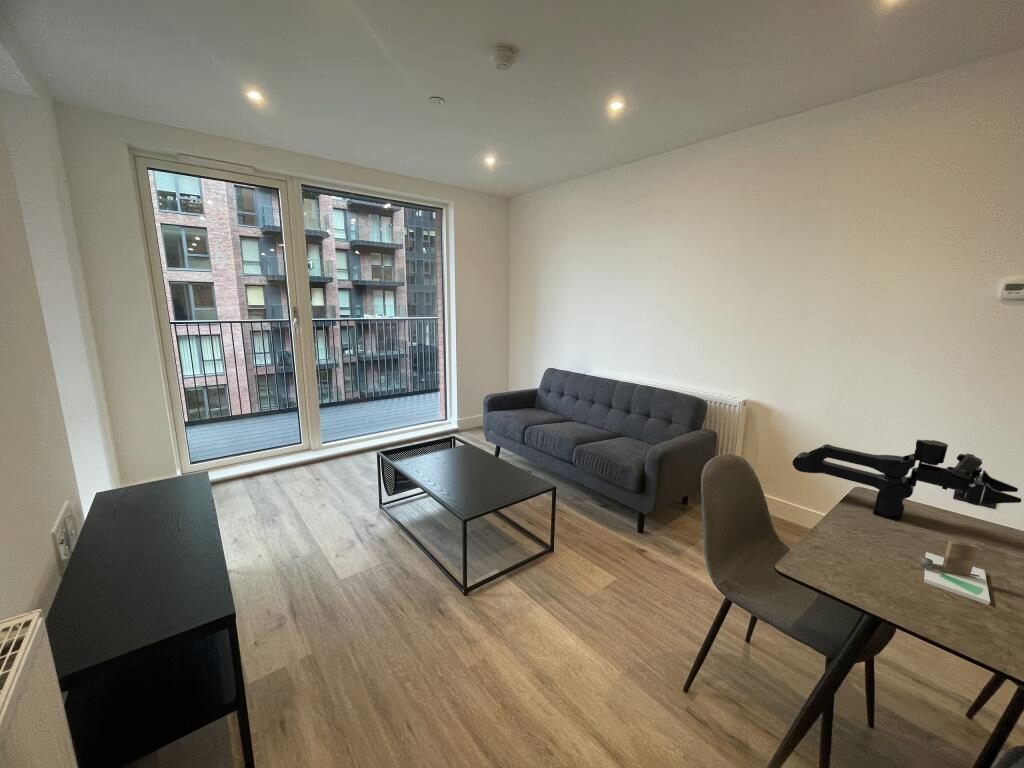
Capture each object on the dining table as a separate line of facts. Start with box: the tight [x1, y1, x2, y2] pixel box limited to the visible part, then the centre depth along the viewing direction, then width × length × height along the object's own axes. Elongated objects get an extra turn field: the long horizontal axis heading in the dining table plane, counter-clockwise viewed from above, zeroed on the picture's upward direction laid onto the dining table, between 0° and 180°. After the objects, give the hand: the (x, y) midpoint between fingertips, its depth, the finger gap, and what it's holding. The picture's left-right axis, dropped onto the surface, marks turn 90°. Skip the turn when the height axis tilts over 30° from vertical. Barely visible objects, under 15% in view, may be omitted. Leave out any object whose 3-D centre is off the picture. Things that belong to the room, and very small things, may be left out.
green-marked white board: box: [923, 551, 991, 606], centre depth 105 cm, size 11×16×1 cm
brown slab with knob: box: [920, 540, 980, 577], centre depth 105 cm, size 12×2×8 cm, turn 70°
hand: (1019, 495), depth 115 cm, fingers open, 9 cm apart
